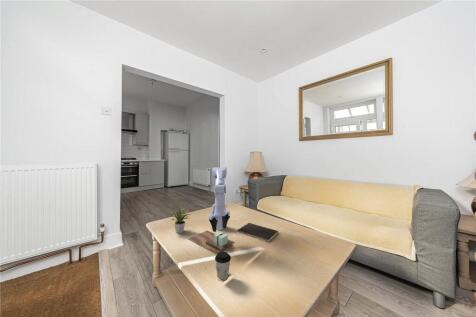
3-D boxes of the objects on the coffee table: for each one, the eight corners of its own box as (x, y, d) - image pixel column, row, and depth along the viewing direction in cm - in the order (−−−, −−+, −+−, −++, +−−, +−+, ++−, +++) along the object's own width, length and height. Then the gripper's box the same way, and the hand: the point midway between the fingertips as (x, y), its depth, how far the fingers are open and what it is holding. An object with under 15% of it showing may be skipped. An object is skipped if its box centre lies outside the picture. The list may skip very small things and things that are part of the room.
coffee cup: (230, 272, 76) (231, 250, 76) (230, 283, 69) (231, 259, 69) (215, 272, 76) (215, 250, 76) (213, 283, 69) (214, 259, 69)
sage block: (220, 241, 101) (220, 230, 101) (227, 245, 97) (227, 233, 97) (213, 245, 97) (213, 233, 97) (221, 249, 93) (221, 236, 93)
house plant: (174, 239, 104) (175, 213, 104) (163, 233, 113) (163, 208, 112) (193, 231, 116) (194, 207, 115) (181, 226, 124) (182, 204, 124)
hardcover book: (268, 243, 103) (268, 239, 103) (237, 233, 116) (237, 229, 116) (277, 233, 117) (278, 230, 117) (249, 225, 130) (249, 222, 130)
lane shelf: (207, 231, 116) (207, 228, 116) (235, 244, 100) (235, 240, 100) (187, 240, 103) (187, 236, 103) (216, 256, 88) (216, 251, 88)
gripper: (214, 208, 89) (214, 235, 89) (233, 204, 100) (233, 228, 99) (206, 206, 94) (205, 231, 93) (225, 203, 105) (224, 225, 104)
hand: (219, 229), depth 97 cm, fingers open, 7 cm apart
